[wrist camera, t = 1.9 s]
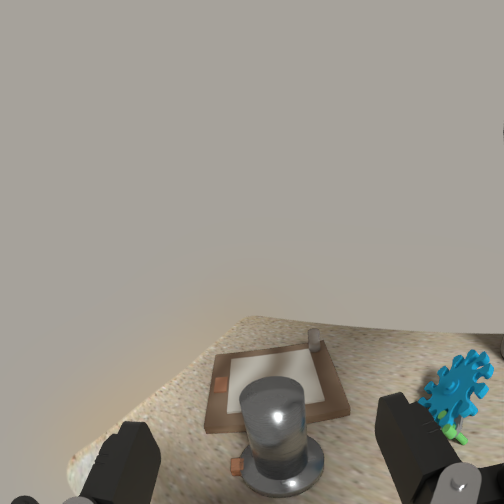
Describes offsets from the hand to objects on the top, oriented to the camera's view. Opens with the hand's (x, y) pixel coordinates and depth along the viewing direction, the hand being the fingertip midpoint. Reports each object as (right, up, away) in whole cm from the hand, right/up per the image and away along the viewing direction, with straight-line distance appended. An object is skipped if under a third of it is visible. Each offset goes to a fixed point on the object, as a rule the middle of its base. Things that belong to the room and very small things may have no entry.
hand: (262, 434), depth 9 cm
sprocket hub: (+3, -14, +15) cm, 21 cm away
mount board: (+2, -11, +28) cm, 30 cm away
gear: (+21, -12, +16) cm, 29 cm away
